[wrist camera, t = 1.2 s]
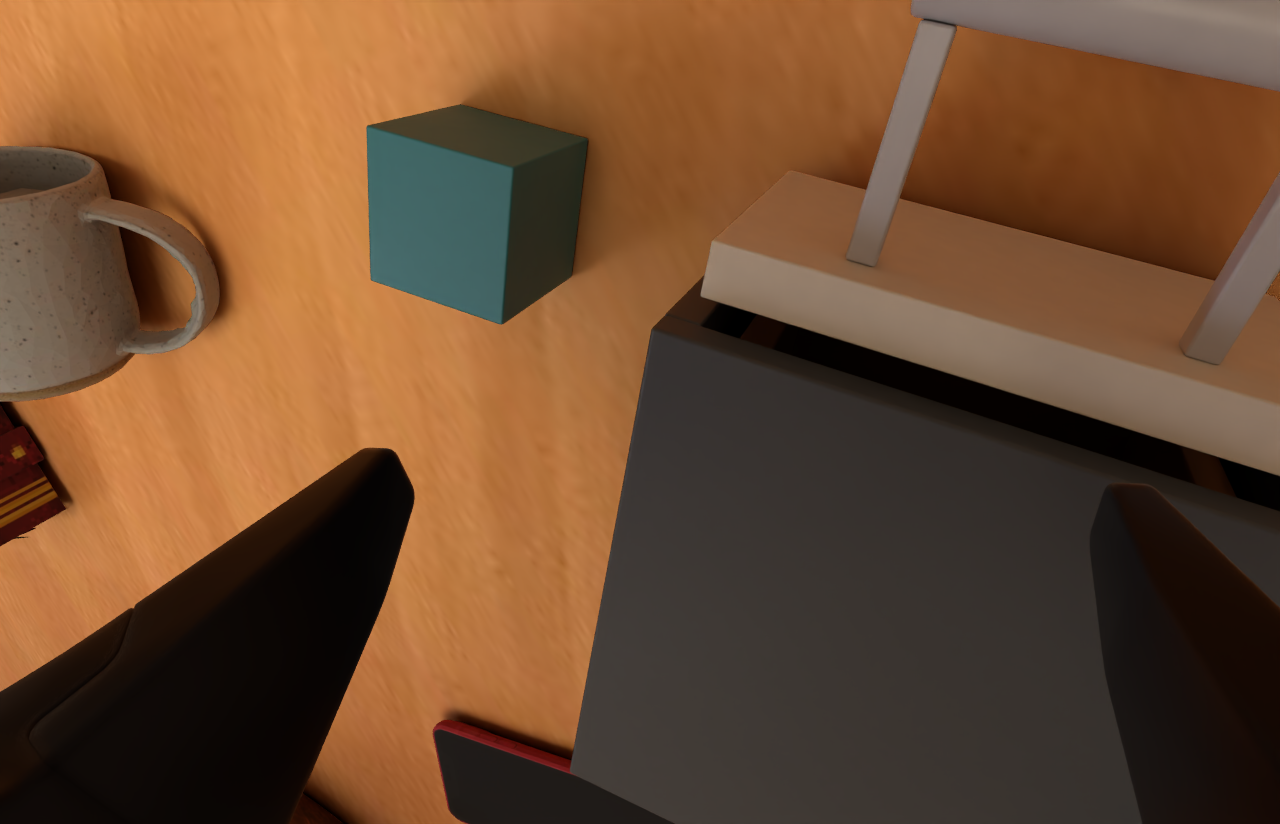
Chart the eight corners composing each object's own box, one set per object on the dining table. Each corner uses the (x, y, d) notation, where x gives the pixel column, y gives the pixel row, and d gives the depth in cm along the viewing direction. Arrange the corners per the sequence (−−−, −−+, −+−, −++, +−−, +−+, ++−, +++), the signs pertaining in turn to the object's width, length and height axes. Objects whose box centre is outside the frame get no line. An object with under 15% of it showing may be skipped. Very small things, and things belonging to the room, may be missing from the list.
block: (589, 138, 23) (513, 167, 19) (572, 277, 25) (501, 326, 22) (459, 103, 24) (365, 124, 20) (455, 240, 26) (369, 280, 23)
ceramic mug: (68, 319, 36) (-122, 391, 30) (7, 136, 32) (-229, 175, 26) (250, 368, 33) (81, 458, 27) (208, 172, 29) (-3, 226, 23)
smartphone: (718, 922, 37) (448, 817, 42) (724, 903, 38) (458, 803, 43) (724, 824, 34) (428, 722, 38) (730, 806, 34) (439, 708, 39)
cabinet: (760, 217, 22) (650, 326, 15) (1252, 354, 19) (1399, 570, 12) (668, 587, 30) (567, 773, 23) (1008, 726, 27) (1012, 989, 20)
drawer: (857, -94, 17) (791, -130, 12) (1460, 10, 15) (1746, 29, 9) (690, 553, 27) (612, 697, 22) (1025, 686, 25) (1033, 888, 19)
